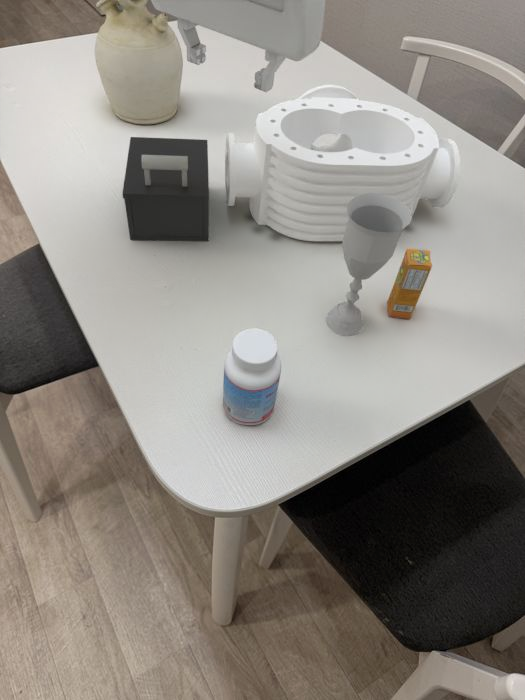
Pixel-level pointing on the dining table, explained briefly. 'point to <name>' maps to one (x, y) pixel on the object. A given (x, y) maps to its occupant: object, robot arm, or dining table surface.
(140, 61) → the jug
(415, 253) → the supplement box
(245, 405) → the pill bottle
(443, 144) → the housing
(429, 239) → the dining table surface
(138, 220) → the box
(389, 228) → the chalice
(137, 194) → the chamber lid
